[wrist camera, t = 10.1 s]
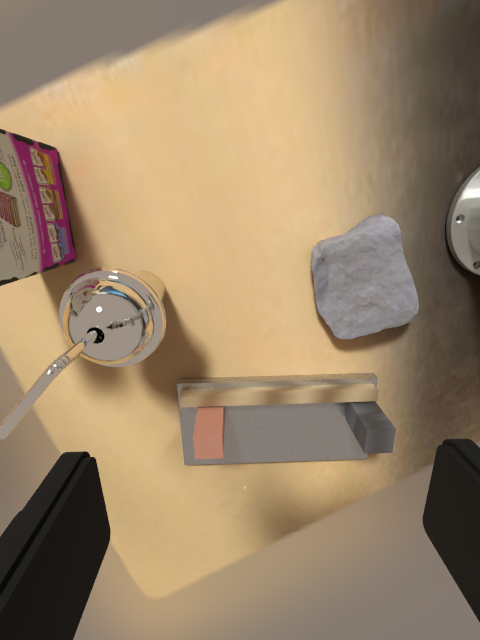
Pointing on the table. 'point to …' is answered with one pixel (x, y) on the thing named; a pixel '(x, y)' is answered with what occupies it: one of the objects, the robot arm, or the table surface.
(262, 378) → the bolt plate
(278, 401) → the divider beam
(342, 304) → the stone block
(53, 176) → the candy bar box
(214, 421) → the block
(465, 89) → the table surface
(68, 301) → the domed lid cup
